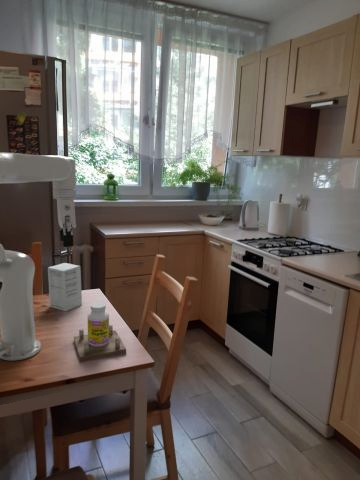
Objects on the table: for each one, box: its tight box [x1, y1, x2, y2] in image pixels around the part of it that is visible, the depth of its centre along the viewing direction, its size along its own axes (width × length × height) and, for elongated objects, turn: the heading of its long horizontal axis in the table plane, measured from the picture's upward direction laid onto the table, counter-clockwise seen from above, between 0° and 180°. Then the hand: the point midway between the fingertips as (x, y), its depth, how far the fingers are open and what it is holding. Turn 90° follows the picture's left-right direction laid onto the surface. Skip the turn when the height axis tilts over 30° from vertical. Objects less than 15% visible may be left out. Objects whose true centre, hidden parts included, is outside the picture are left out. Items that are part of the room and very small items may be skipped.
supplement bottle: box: [87, 301, 110, 347], centre depth 117 cm, size 7×7×13 cm
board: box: [73, 324, 127, 363], centre depth 118 cm, size 14×14×4 cm
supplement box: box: [47, 262, 83, 312], centre depth 150 cm, size 10×9×17 cm
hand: (66, 243), depth 128 cm, fingers open, 9 cm apart
